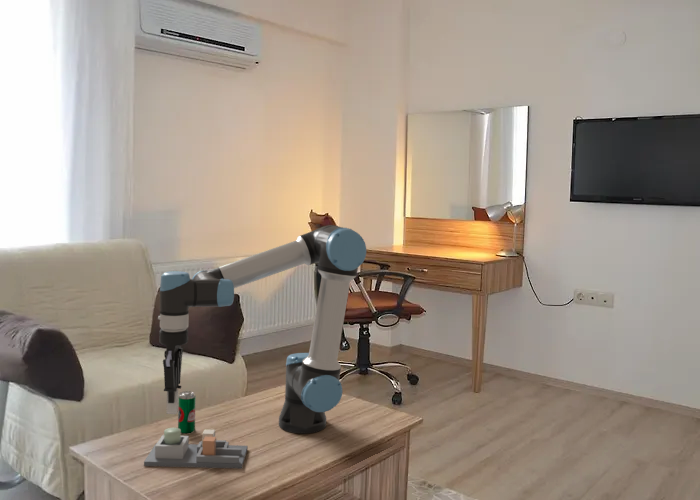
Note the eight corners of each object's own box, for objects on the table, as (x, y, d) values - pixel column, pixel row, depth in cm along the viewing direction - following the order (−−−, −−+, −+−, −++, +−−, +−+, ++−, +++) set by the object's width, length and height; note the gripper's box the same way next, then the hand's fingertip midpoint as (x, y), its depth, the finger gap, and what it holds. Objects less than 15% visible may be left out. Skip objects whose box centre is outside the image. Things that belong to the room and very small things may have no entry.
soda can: (190, 435, 191) (191, 396, 190) (174, 433, 192) (175, 395, 191) (197, 429, 196) (198, 391, 195) (182, 427, 197) (183, 389, 196)
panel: (247, 449, 183) (247, 434, 183) (241, 468, 171) (242, 452, 171) (156, 447, 182) (156, 431, 182) (143, 465, 170) (144, 449, 170)
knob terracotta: (215, 454, 176) (215, 436, 175) (213, 459, 173) (214, 441, 172) (204, 454, 176) (204, 436, 175) (202, 458, 173) (202, 441, 172)
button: (182, 438, 178) (182, 427, 178) (178, 444, 174) (178, 434, 173) (166, 437, 178) (166, 427, 178) (162, 444, 174) (162, 433, 173)
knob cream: (214, 446, 181) (215, 429, 180) (212, 451, 178) (213, 433, 177) (204, 446, 181) (204, 429, 180) (202, 450, 178) (202, 433, 177)
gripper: (166, 322, 179) (164, 404, 181) (153, 333, 166) (151, 421, 168) (192, 323, 179) (190, 405, 182) (182, 335, 166) (180, 422, 169)
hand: (172, 412), depth 175 cm, fingers closed
